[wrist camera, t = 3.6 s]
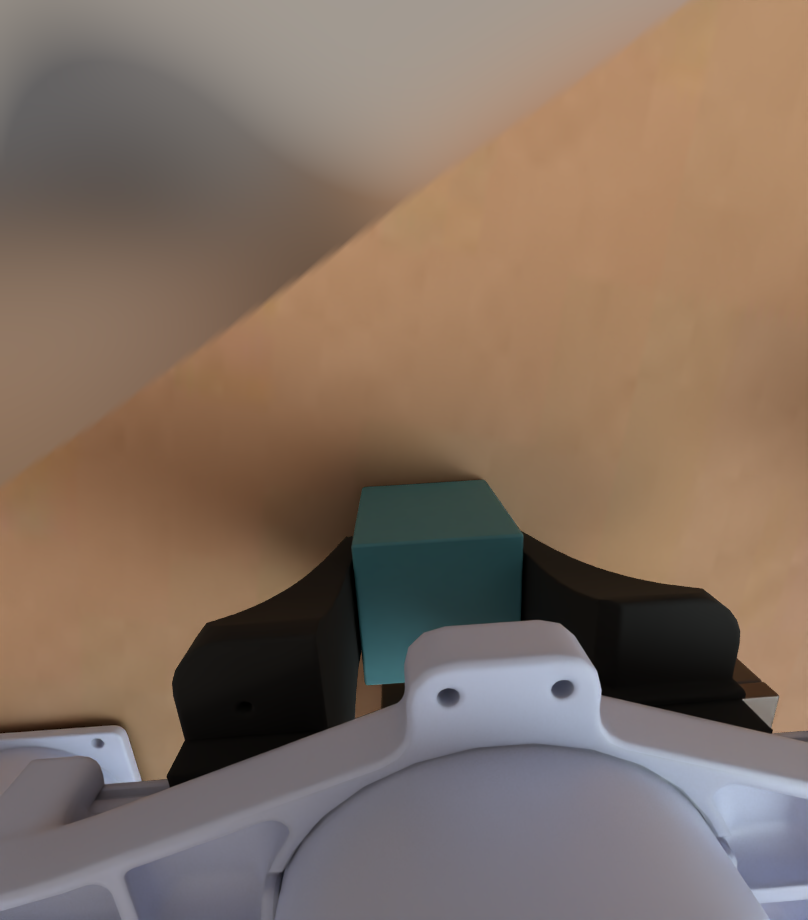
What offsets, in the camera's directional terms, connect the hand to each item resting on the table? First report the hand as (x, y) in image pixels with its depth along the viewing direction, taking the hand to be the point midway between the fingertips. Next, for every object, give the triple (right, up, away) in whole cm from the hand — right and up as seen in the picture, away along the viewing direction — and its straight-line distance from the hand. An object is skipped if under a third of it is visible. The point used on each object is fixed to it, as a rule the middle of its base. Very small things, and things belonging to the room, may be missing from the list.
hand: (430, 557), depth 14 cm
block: (0, 0, +1) cm, 1 cm away
